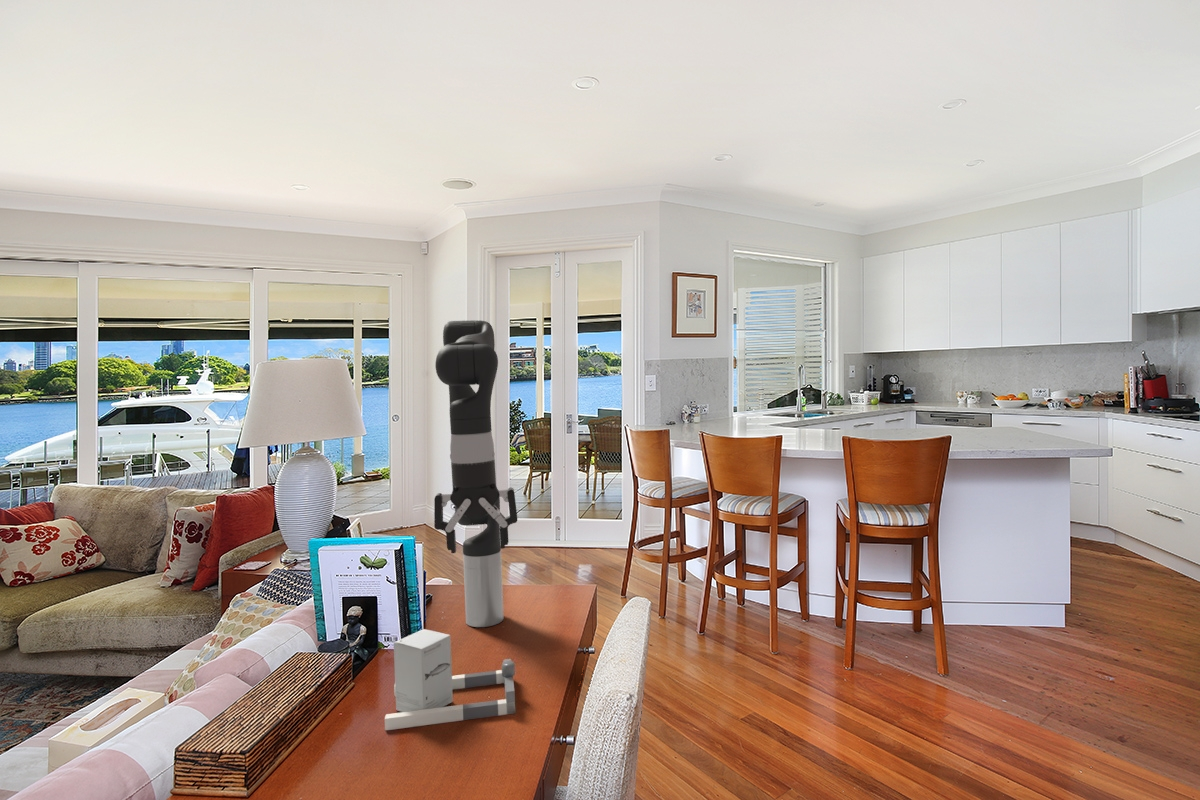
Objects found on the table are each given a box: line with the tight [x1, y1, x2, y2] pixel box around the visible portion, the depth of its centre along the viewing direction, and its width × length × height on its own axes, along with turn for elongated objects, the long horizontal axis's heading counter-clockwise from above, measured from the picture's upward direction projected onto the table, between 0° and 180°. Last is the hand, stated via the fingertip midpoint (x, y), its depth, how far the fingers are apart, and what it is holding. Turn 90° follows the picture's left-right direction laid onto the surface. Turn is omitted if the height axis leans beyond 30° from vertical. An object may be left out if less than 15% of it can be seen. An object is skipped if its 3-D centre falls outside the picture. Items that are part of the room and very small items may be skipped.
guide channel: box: [384, 658, 516, 731], centre depth 116 cm, size 14×22×6 cm, turn 101°
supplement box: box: [393, 628, 454, 713], centre depth 115 cm, size 7×7×13 cm
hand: (478, 549), depth 111 cm, fingers open, 8 cm apart
